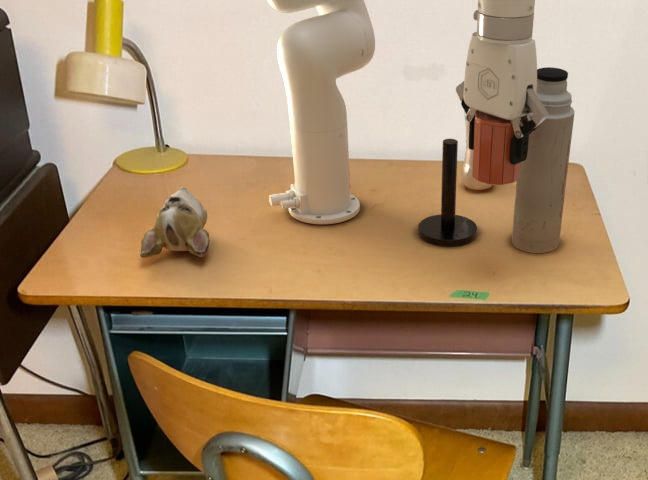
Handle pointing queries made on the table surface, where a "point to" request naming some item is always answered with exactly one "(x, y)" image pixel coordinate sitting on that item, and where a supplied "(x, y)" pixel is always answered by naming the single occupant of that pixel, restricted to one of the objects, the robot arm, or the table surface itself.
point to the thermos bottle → (545, 168)
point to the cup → (493, 150)
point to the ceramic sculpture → (178, 227)
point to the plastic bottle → (470, 166)
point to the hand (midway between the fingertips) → (497, 153)
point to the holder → (448, 208)
